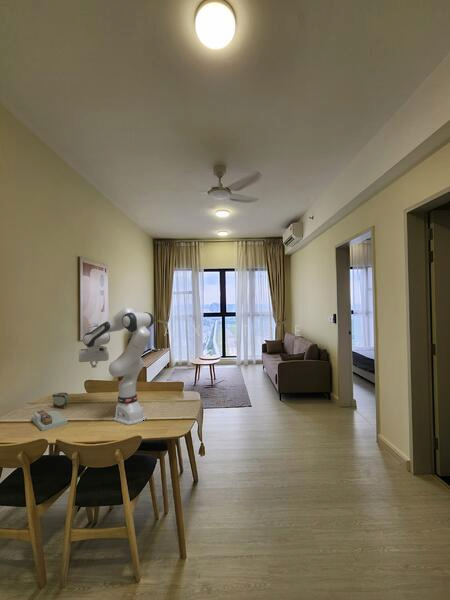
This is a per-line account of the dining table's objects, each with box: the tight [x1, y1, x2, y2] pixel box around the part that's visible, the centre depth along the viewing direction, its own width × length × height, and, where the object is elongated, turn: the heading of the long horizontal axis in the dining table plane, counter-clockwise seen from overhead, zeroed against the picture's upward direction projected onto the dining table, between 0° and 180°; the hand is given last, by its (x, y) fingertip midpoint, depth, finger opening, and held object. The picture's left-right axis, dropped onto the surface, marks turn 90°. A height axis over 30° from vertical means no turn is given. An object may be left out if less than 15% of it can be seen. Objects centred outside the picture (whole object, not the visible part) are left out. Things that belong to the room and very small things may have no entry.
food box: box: [31, 409, 69, 432], centre depth 184 cm, size 24×14×6 cm, turn 46°
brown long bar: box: [36, 409, 52, 425], centre depth 180 cm, size 18×4×4 cm, turn 48°
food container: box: [51, 392, 69, 410], centre depth 210 cm, size 12×6×10 cm, turn 74°
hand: (94, 367), depth 210 cm, fingers closed
